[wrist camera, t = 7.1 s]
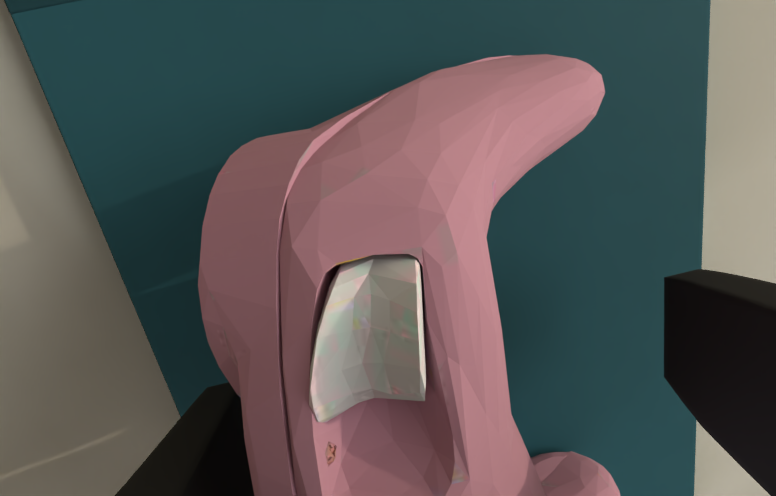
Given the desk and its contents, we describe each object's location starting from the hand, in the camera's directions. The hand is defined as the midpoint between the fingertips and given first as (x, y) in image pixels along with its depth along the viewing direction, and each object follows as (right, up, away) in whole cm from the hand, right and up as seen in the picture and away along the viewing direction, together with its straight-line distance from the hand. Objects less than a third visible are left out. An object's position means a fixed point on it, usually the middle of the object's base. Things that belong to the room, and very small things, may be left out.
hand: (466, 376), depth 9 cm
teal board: (0, +1, +2) cm, 2 cm away
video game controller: (0, +1, +2) cm, 2 cm away
